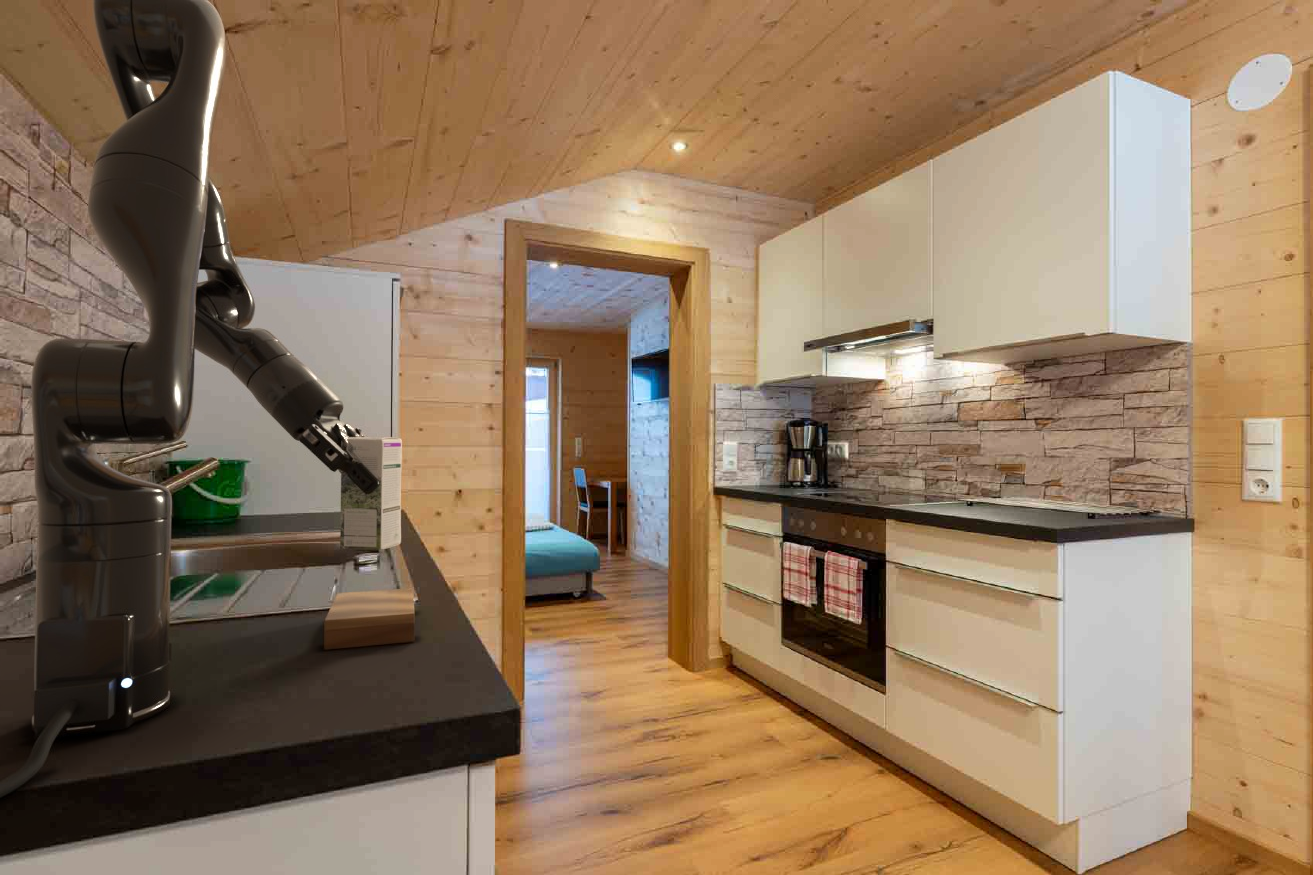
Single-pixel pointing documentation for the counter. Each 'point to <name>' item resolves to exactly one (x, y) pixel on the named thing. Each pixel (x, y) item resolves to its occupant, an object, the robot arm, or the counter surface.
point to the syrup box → (373, 496)
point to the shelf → (370, 619)
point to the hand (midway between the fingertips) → (384, 487)
